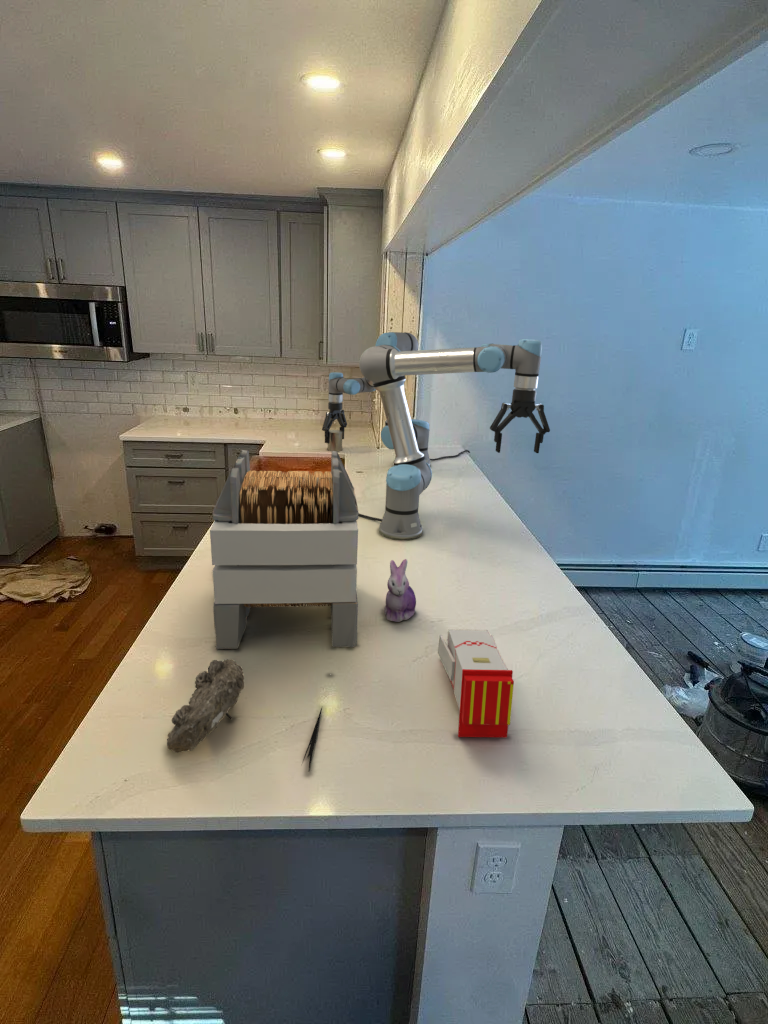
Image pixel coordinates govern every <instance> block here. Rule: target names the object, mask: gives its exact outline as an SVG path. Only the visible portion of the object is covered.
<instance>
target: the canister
mask: <svg viewBox="0 0 768 1024" xmlns="http://www.w3.org/2000/svg"><path fill="white" fill-rule="evenodd" d="M329 431H330V443H329V444H328V443H327V451H329V452H332V451H337V452H341V451H343V439H342V431H341V430H340V429H330V430H329Z"/></svg>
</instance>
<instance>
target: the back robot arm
mask: <svg viewBox="0 0 768 1024" xmlns="http://www.w3.org/2000/svg"><path fill="white" fill-rule="evenodd" d="M385 344H386V345H392V346H395V347H396V348H398V349H399V350H400V351H401V352H402V351H419V341H418V338H417V337H416V336H415V335H414V334H412V333H411V332H407V331H403V332H398V331H389V332H384V333H381V334H379V336H378V338H377V339H376V342H375V346H380V345H385ZM327 381H328V405H327V407H328V410H329V412H328V411H326V413H325V417H324V421H323V424H322V427H321V431H323V432H324V443H325V444H327V445H328V444H329V443H330V431H329V430H331V427H332V425H333V423H334V422H335V421H336V420H337V422H338V424H339V430H341V431H342V440H345V428H347V426H348V421H347V419H346V418H347V417H346V416H345V410H344V409H343V401H344V399H343V396H344V395H343V394H346V395H351V396H355V395H356V394H360V393H373V392H375V391H377V390H376V389H374V386H373V382H372V381H370V380H368V379H366V378H365V377H364V376H363V377H357V378H345V377H344V373H343V372H339V371H337V372H335V371H333V372H332V371H331V372H329V373H328V380H327ZM403 388H404V389H405V383H404V384H403ZM411 421H412V425H413V429H414V433H415V437H416V441H417V445H418V449H419V451H420V452H421V453H423V454H424V456H425V460H426V462H427V463H428V464H429V466H430V467H431V462H432V461H440V460H443V459H450V458H457V457H459V456H461V455H462V454H464V453H469V454H471V451H470V450H469V449H464V450H462V451H460V452H458V454H455V455H446V456H440V457H436V458H430V455H429V441H430V440H429V438H430V423H429V422H428V421H426V420H422V419H416V418H411ZM380 439H381V443H382V444H383V445H384V446H385V448H387V449H388V450H393V451H394V447H393V443H392V439H391V435H390V431H389V427H388V423H387V420H385V421H384V426H383V427H382V429H381V431H380Z"/></svg>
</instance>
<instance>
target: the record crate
mask: <svg viewBox="0 0 768 1024" xmlns="http://www.w3.org/2000/svg"><path fill="white" fill-rule="evenodd" d="M338 452H339V451H331V458H330V459H331V460H330V461H331V462H330V466H331V467H330V471H324V472H323V471H320V470H319V471H317V470H316V471H315V470H314V472H310V471H309V470H288V471H281V470H278V471H277V470H259V471H258V470H251V464H250V450H249V449H247V450H246V449H241V450H240V453H239V455H238V457H237V459H236V461H235V463H234V465H233V467H232V468H231V470H230V472H229V474H228V477H227V479H226V481H225V483H224V485H223V488H222V490H221V492H220V495H219V497H218V499H217V501H216V503H215V506H214V507H213V510H212V520H213V523H212V524H211V527H210V529H209V538H210V555H211V565H212V566H214V567H213V569H212V584H213V600H214V601H213V605H212V610H213V611H212V612H213V624H214V633H215V646H214V648H215V649H216V650H222V651H223V649H225V650H227V649H229V650H230V649H233V650H234V649H235V650H237V649H238V648H239V646H240V643H241V641H242V638H243V635H244V633H245V630H246V628H247V618H249V615H250V612H251V608H270V607H272V608H276V607H277V608H279V607H280V608H282V607H285V608H288V607H291V608H294V607H295V608H296V607H306V606H307V607H326V606H328V607H330V617H331V618H330V620H331V621H330V625H331V626H330V627H331V647H333V648H335V647H337V648H338V647H339V648H340V647H347V648H354V647H356V646H358V622H359V621H358V618H359V600H358V592H357V583H358V568H357V564H358V547H359V546H358V545H359V528H358V527H359V526H358V520H359V517H360V516H359V514H360V513H359V507H358V502H357V498H356V497H357V496H356V493H355V492H356V491H355V487H354V485H353V482H352V481H351V478H350V477H349V474H348V472H347V470H346V468H345V465H344V463H343V461H342V459H341V457H340V455H339V453H338Z"/></svg>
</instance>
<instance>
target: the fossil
mask: <svg viewBox="0 0 768 1024" xmlns="http://www.w3.org/2000/svg"><path fill="white" fill-rule="evenodd" d="M243 670H244V669H243V667H242V665H240V664H237V662H236V661H235V660H234V659H232V658H231V659H227V658H226V659H224V660H223V661H222V660H217V659H212V660H211V661H210V663H209V665H208V666H207V671H201V672H199V673H198V674H197V675H196V676H195V680H194V684H195V685H194V687H195V689H194V690H193V693H192V694H191V697H190V698H189V700H188V704H184V705H182V706H181V707H180V709H177V710H176V711H175V713H174V715H173V716H172V718H171V723H172V724H173V727H172V730H171V731H170V732H168V734H167V738H166V741H167V742H166V745H167V749H168V750H169V751H173V752H174V753H176V754H178V753H182V752H188V751H189V752H192V751H193V750H195V748H196V747H197V746H199V744H200V743H201V742H203V741H204V740H205V739H206V738H207V737H208V736H209V735H210V734H211V733H212V732H214V730H215V729H217V727H218V726H219V724H220V722H221V721H222V720H223V719H224V718H225V716H226V717H227V719H229V720H233V717H232V715H230V714H229V710H230V709H231V708H234V706H235V704H236V703H237V702H238V699H239V697H240V695H241V693H242V691H243V690H245V689H244V688H245V675H244V671H243Z"/></svg>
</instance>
